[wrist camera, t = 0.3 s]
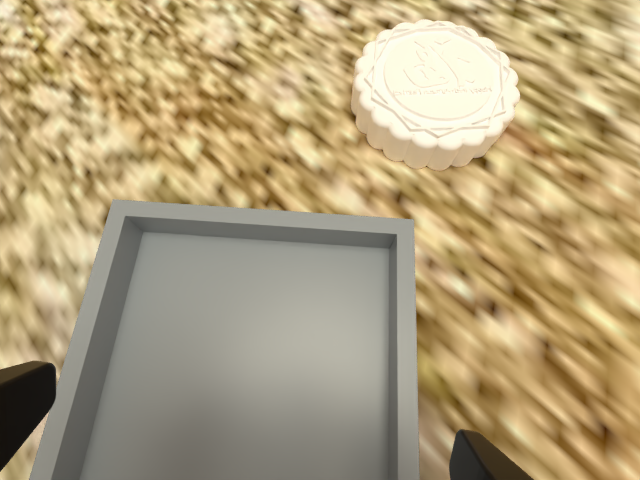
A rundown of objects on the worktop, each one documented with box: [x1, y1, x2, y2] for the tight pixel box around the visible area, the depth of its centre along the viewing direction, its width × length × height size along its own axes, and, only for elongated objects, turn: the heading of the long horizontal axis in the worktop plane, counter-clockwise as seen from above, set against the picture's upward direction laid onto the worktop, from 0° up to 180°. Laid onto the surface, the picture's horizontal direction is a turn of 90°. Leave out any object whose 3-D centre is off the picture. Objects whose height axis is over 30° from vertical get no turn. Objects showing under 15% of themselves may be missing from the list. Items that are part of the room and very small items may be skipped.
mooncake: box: [351, 19, 520, 171], centre depth 28 cm, size 12×12×4 cm
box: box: [29, 199, 420, 480], centre depth 21 cm, size 18×18×4 cm
